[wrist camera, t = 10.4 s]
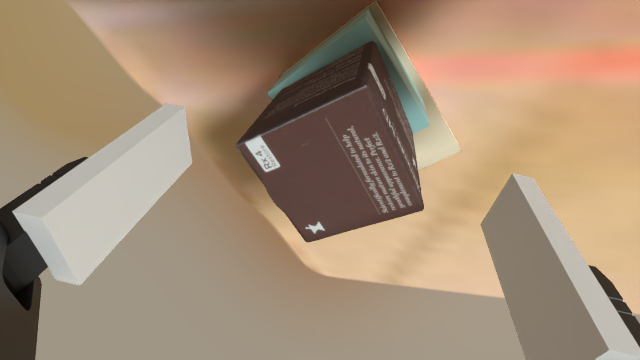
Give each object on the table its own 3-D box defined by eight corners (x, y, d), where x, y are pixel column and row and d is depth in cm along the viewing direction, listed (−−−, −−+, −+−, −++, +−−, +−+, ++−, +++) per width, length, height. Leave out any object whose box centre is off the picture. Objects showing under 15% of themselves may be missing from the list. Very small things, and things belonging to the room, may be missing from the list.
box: (414, 133, 19) (428, 214, 13) (327, 166, 21) (305, 246, 15) (374, 36, 16) (368, 82, 10) (279, 86, 19) (230, 146, 13)
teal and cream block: (282, 73, 23) (260, 98, 19) (376, -1, 20) (373, 11, 16) (369, 186, 28) (367, 225, 24) (458, 144, 24) (473, 181, 20)
